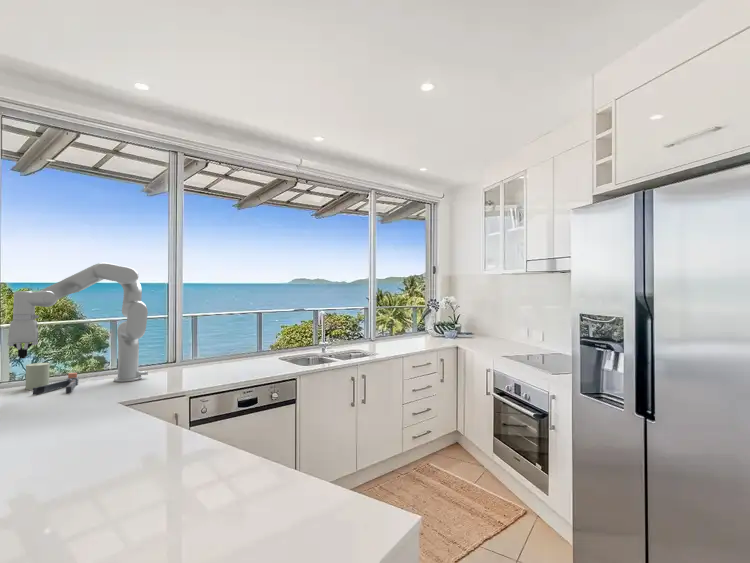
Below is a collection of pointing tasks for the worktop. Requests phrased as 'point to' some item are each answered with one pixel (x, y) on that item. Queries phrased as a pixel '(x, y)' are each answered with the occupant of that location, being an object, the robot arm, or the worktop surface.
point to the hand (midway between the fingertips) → (22, 358)
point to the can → (37, 375)
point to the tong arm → (50, 387)
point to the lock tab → (72, 375)
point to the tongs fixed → (71, 384)
